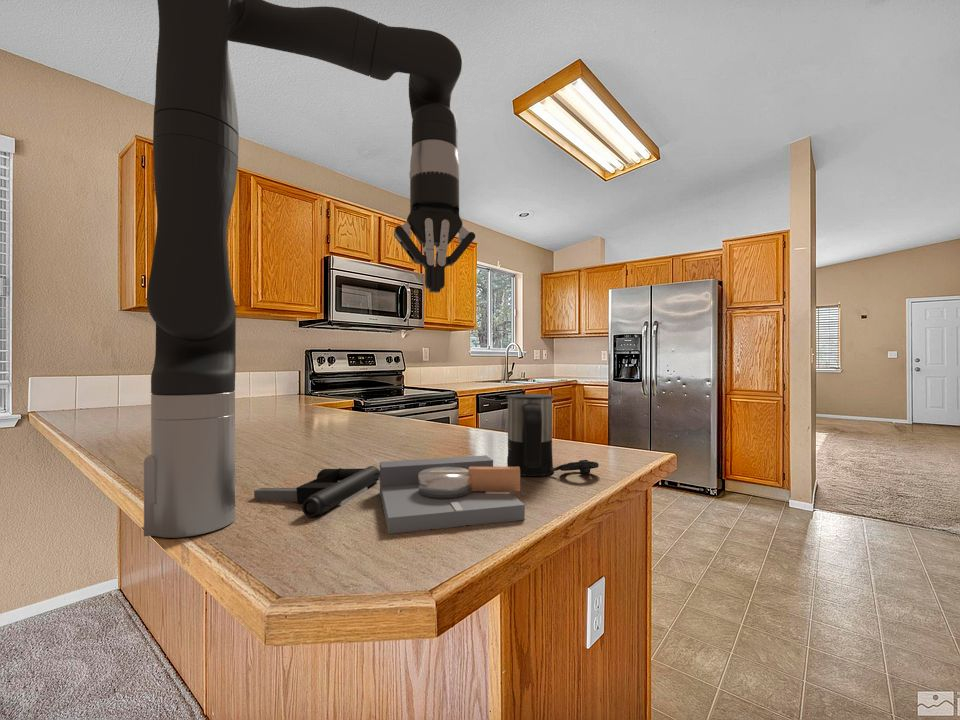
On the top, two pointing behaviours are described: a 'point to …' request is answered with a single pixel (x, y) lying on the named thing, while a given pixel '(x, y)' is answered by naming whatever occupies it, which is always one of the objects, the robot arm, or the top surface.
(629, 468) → the top surface
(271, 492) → the door handle
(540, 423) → the milk frother
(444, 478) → the dial
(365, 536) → the top surface
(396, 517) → the panel
